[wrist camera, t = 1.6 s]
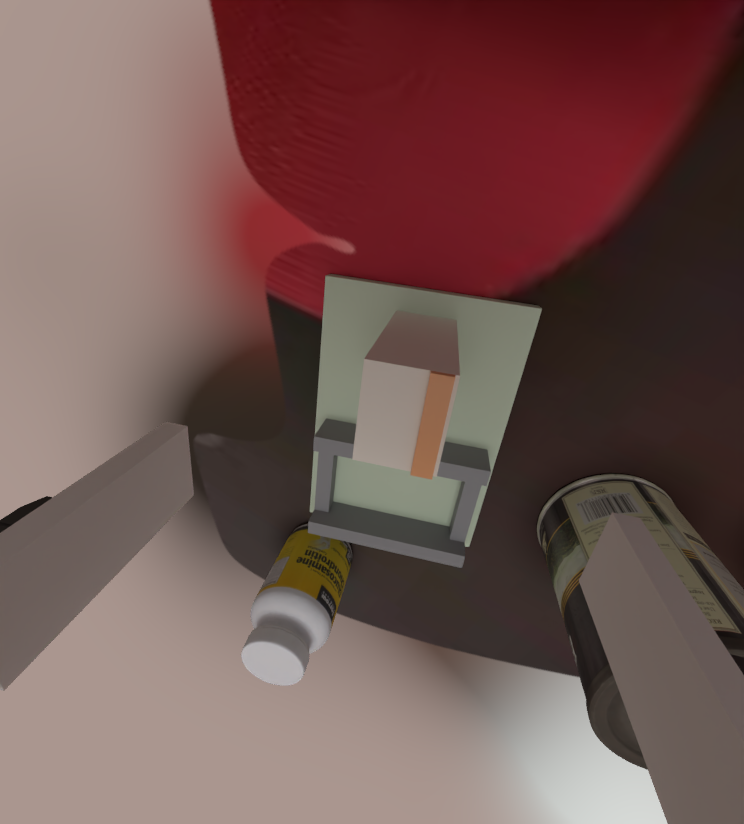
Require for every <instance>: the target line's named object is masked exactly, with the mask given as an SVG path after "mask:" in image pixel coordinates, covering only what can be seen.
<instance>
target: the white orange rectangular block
mask: <svg viewBox="0 0 744 824" xmlns="http://www.w3.org/2000/svg"><path fill="white" fill-rule="evenodd" d="M459 379H460V364H459V348H458V332H457V320H454V319H448V318H441V317H435V316H429V315H423V314H416V313H410V312H404V311H398V310H396V312H395V313H394V315H393V316H392V318H391V319H390V321H389V322H388V324H387V325H386V327H385V328H384V330H383V331H382V333H381V334H380V336H379V337H378V339H377V340H376V342H375V343H374V345H373V346H372V348H371V349H370V351H369V352H368V354H367V355H366V357H365V358H364V364H363V372H362V381H361V389H360V398H359V406H358V415H357V423H356V432H355V440H354V449H353V457H352V460H356V461H361V462H366V463H371V464H376V465H381V466H386V467H390V468H395V469H400V470H405V471H410V472H411V474H410V475H411V476H416V477H421V478H426V479H431V480H432V477H433V476H434V477H437V473H438V469H439V464H440V460H441V456H442V452H443V447H444V443H445V439H446V434H447V430H448V426H449V422H450V417H451V413H452V409H453V405H454V400H455V396H456V392H457V388H458V383H459Z"/></svg>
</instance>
